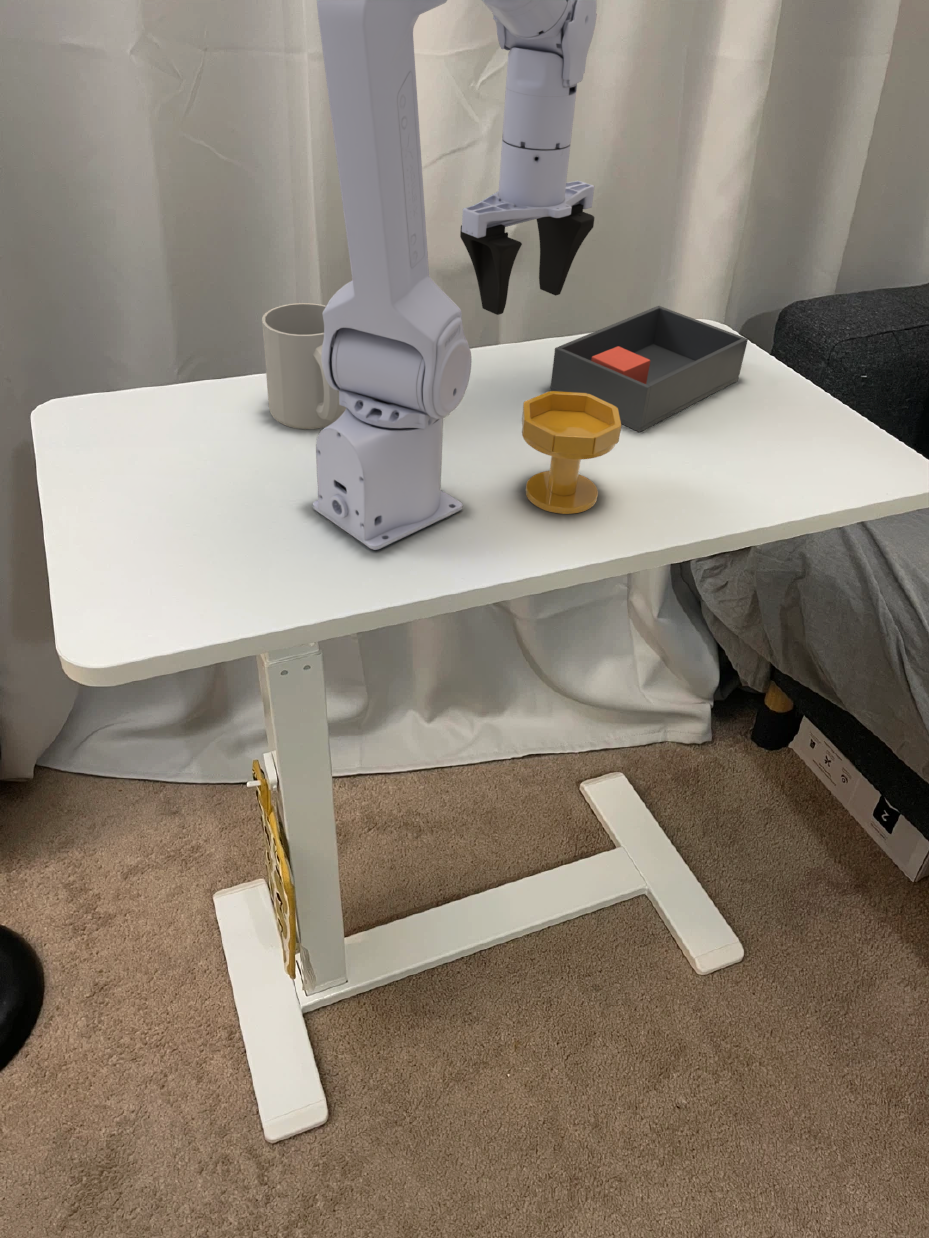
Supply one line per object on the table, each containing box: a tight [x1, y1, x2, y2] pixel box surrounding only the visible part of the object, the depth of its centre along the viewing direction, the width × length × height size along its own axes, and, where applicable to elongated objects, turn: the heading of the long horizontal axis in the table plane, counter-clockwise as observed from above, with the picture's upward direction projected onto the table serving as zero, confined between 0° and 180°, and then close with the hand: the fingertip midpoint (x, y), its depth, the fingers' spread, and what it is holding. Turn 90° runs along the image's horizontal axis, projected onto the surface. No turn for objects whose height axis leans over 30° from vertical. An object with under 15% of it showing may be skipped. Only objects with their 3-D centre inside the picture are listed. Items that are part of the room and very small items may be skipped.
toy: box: [591, 346, 650, 384], centre depth 96 cm, size 4×4×4 cm
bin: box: [549, 305, 749, 433], centre depth 99 cm, size 17×11×4 cm, turn 136°
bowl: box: [521, 390, 622, 515], centre depth 81 cm, size 8×8×8 cm
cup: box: [261, 302, 346, 430], centre depth 89 cm, size 7×10×9 cm
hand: (522, 301), depth 92 cm, fingers open, 7 cm apart
